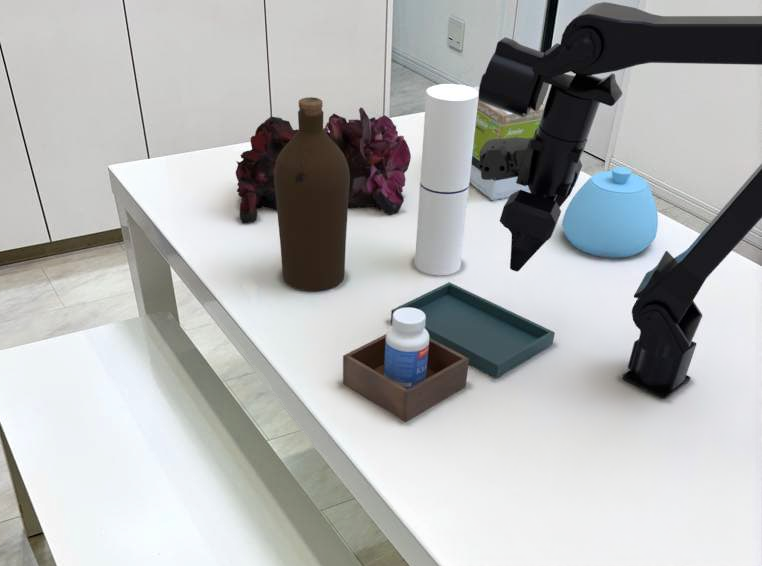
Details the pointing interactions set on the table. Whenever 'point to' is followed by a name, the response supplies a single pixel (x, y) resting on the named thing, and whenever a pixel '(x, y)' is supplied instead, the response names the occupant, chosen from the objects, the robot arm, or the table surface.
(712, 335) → the table surface
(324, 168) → the olive oil
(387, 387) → the open box
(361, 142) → the flower arrangement
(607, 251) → the sugar bowl
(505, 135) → the tea box
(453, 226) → the cylindrical container
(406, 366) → the pill bottle
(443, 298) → the tray
